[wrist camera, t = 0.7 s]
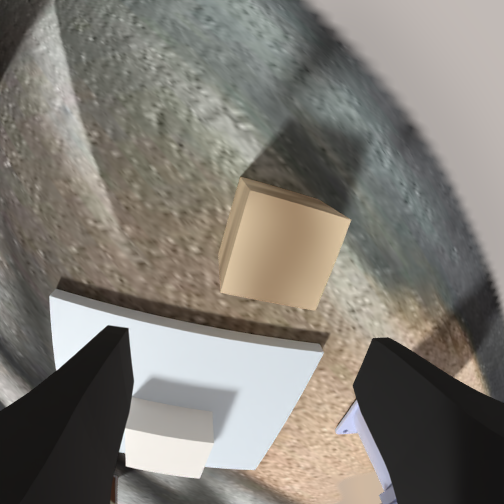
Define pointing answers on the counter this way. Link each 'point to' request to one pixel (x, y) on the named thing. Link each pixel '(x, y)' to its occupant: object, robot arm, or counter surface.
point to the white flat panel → (199, 371)
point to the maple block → (279, 245)
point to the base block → (168, 438)
